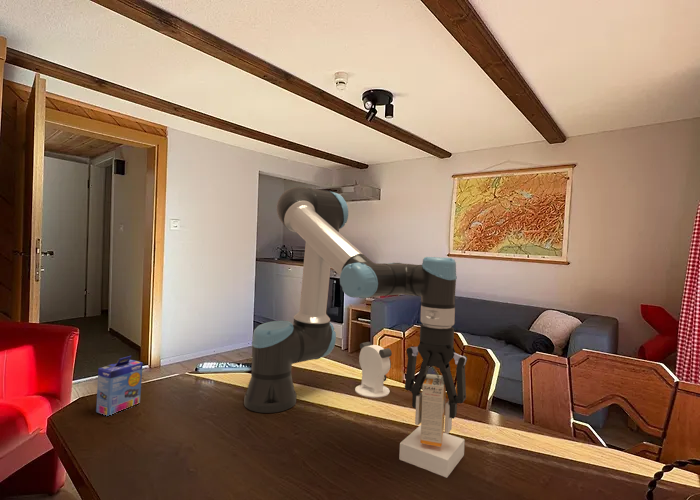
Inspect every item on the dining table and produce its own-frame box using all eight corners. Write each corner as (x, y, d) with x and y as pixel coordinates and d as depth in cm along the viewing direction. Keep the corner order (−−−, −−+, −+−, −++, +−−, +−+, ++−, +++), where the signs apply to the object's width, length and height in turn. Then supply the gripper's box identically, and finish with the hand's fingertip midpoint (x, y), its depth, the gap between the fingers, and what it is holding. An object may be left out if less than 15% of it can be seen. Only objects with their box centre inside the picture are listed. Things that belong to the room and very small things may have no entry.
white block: (399, 461, 84) (399, 443, 84) (419, 441, 93) (420, 425, 93) (446, 479, 78) (447, 460, 78) (463, 456, 87) (464, 439, 87)
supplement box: (442, 448, 81) (444, 387, 81) (419, 443, 82) (422, 383, 82) (444, 430, 89) (446, 375, 89) (423, 427, 90) (425, 372, 90)
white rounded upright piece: (398, 393, 123) (399, 347, 123) (373, 401, 116) (375, 352, 116) (372, 382, 132) (374, 339, 132) (348, 389, 125) (349, 344, 125)
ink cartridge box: (108, 417, 99) (110, 362, 99) (94, 413, 101) (96, 359, 101) (142, 403, 108) (144, 353, 108) (128, 400, 110) (130, 350, 110)
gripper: (391, 321, 87) (387, 421, 87) (476, 334, 77) (471, 446, 77) (404, 317, 94) (401, 410, 94) (484, 328, 83) (480, 432, 84)
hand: (433, 426), depth 85 cm, fingers open, 6 cm apart
